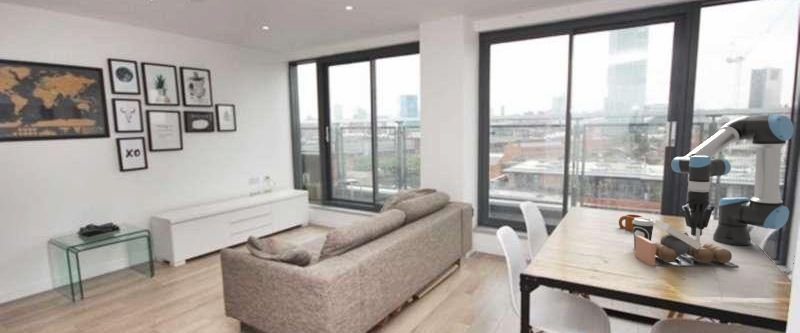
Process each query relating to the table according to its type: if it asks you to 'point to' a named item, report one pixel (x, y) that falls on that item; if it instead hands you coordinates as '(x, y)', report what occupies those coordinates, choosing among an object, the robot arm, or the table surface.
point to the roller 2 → (675, 244)
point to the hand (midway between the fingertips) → (695, 242)
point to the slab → (677, 234)
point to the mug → (628, 221)
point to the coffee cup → (642, 228)
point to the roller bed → (691, 262)
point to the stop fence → (645, 250)
